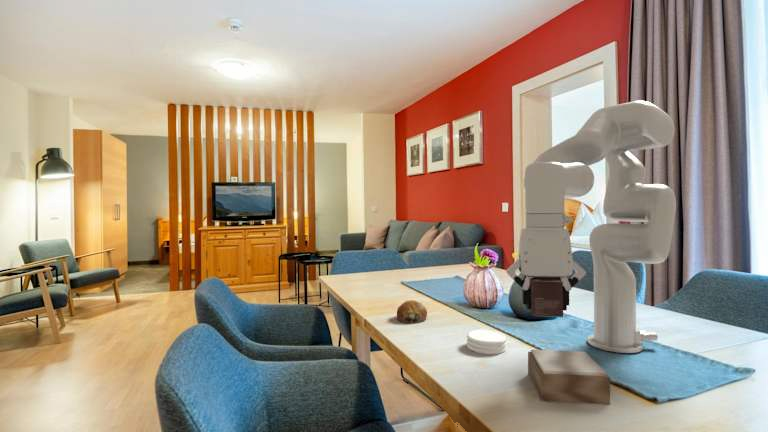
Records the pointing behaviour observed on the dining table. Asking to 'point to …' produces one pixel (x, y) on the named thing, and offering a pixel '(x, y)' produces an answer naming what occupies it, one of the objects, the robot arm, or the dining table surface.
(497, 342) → the coaster
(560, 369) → the plinth
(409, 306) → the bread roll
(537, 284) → the box
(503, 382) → the dining table surface
